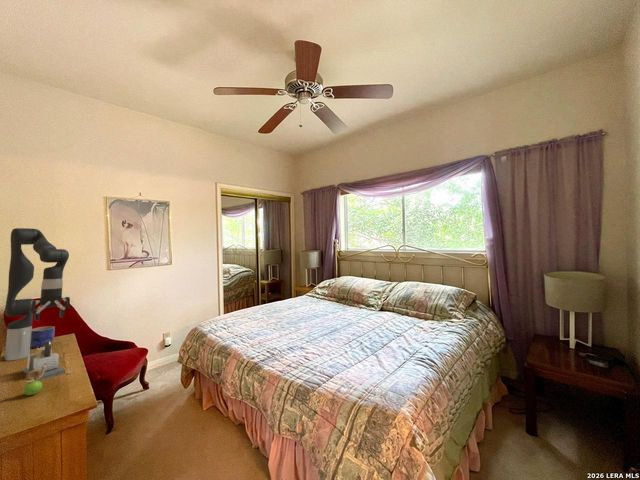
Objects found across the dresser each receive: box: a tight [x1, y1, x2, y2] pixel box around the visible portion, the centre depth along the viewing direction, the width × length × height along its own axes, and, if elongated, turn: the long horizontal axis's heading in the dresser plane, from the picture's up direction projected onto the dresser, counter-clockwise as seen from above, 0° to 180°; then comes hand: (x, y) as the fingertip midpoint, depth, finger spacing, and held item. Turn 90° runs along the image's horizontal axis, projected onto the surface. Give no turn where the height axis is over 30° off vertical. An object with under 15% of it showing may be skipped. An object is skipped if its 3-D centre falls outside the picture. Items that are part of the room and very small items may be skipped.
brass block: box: [35, 347, 45, 358], centre depth 130 cm, size 4×6×10 cm, turn 62°
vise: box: [22, 349, 66, 381], centre depth 128 cm, size 18×10×8 cm, turn 62°
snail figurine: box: [22, 362, 47, 396], centre depth 109 cm, size 5×6×12 cm
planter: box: [30, 325, 56, 349], centre depth 163 cm, size 11×11×11 cm
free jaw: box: [33, 340, 60, 371], centre depth 127 cm, size 4×8×14 cm, turn 152°
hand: (49, 318), depth 130 cm, fingers open, 8 cm apart
